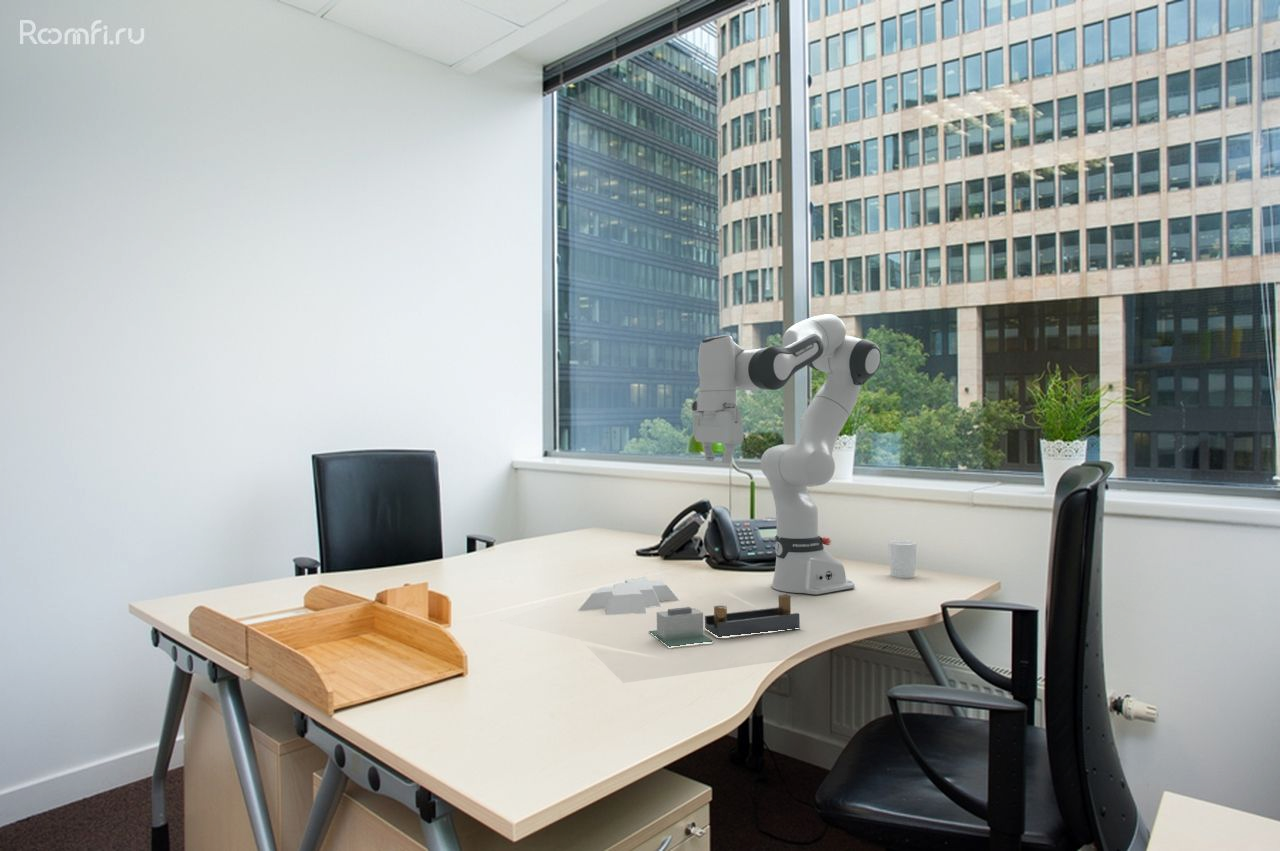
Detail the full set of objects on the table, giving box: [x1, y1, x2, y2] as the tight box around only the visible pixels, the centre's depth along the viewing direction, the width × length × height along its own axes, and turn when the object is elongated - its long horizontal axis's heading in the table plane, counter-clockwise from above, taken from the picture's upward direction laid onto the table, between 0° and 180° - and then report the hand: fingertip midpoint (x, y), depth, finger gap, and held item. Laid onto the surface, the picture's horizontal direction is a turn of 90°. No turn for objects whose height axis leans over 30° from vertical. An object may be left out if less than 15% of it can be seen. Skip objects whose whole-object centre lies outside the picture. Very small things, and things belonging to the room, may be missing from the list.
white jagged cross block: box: [577, 576, 680, 616], centre depth 198 cm, size 35×20×6 cm, turn 145°
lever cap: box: [656, 606, 704, 641], centre depth 167 cm, size 9×4×6 cm, turn 110°
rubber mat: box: [648, 629, 714, 647], centre depth 167 cm, size 10×12×1 cm
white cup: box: [887, 539, 917, 579], centre depth 227 cm, size 8×8×10 cm
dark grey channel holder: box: [704, 594, 801, 637], centre depth 173 cm, size 20×7×7 cm, turn 110°
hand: (718, 462), depth 183 cm, fingers open, 8 cm apart
